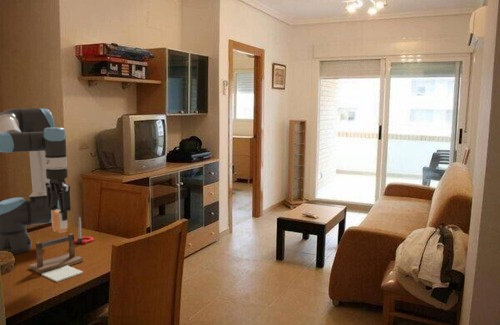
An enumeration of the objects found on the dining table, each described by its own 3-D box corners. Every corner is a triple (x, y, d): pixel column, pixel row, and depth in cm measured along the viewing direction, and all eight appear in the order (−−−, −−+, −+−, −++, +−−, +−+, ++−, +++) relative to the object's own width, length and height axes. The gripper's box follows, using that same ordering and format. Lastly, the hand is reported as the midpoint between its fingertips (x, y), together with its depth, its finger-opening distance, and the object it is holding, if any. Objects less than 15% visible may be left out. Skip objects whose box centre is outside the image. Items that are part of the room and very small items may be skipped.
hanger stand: (29, 268, 176) (27, 241, 174) (70, 256, 190) (68, 230, 188) (42, 274, 170) (40, 246, 168) (83, 261, 184) (82, 235, 183)
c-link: (52, 231, 168) (51, 211, 167) (60, 229, 171) (59, 209, 170) (59, 233, 165) (58, 213, 164) (67, 231, 168) (66, 211, 167)
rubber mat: (41, 275, 169) (41, 273, 169) (67, 266, 178) (67, 265, 178) (56, 282, 163) (56, 280, 163) (83, 273, 172) (83, 271, 171)
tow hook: (81, 238, 216) (70, 243, 207) (81, 213, 215) (70, 217, 206) (96, 239, 215) (87, 244, 206) (96, 214, 214) (86, 218, 205)
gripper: (34, 167, 167) (38, 225, 170) (60, 171, 157) (63, 233, 160) (53, 164, 173) (56, 221, 176) (79, 168, 163) (81, 228, 166)
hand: (59, 227), depth 168 cm, fingers closed on c-link, 5 cm apart
